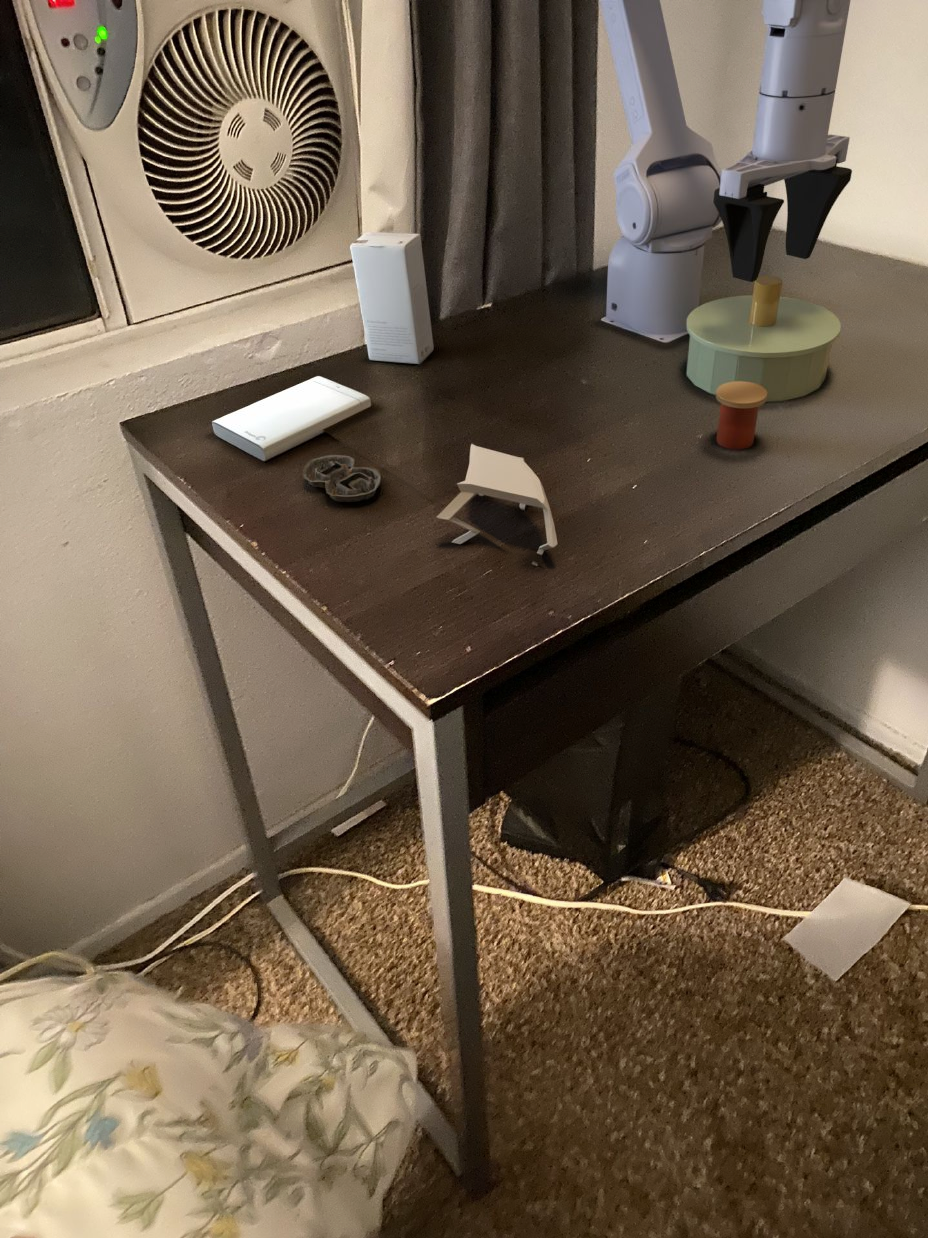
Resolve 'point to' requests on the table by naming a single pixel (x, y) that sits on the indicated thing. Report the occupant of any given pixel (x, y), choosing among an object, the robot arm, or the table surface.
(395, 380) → the table surface
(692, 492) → the table surface
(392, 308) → the cosmetic box
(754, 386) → the spool
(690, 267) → the robot arm
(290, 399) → the hard drive
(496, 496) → the beige angled stand
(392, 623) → the table surface
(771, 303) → the lid
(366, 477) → the corroded twin loop
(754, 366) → the tin
